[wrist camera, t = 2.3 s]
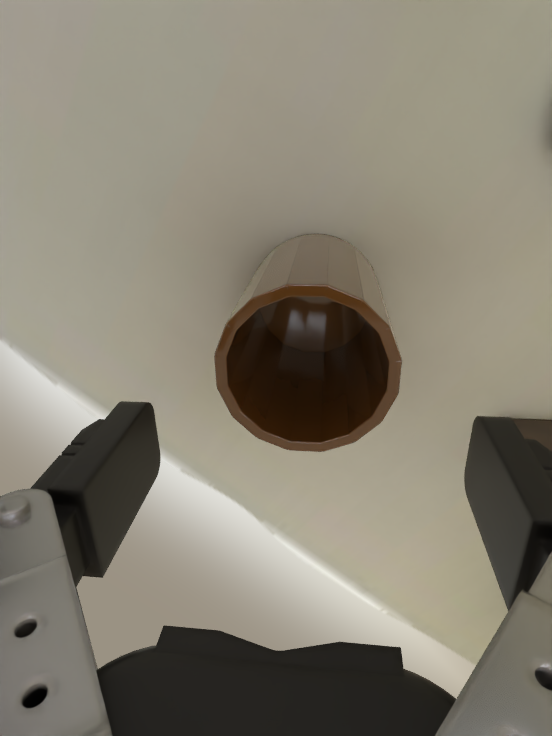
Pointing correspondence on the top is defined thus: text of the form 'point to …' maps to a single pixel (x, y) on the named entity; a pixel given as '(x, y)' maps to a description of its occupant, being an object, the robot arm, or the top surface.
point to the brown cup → (309, 348)
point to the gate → (536, 430)
